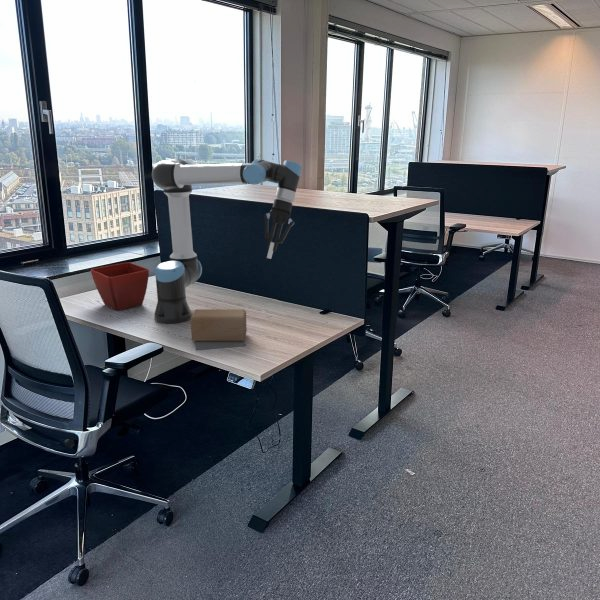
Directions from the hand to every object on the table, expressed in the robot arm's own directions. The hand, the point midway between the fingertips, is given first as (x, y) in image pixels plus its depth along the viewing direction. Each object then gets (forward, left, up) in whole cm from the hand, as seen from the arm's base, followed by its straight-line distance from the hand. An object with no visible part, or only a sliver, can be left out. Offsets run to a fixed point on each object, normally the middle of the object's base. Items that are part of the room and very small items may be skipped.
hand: (269, 258), depth 214 cm
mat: (-23, -17, -27) cm, 40 cm away
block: (-12, -16, -22) cm, 30 cm away
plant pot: (-60, +38, -28) cm, 76 cm away
